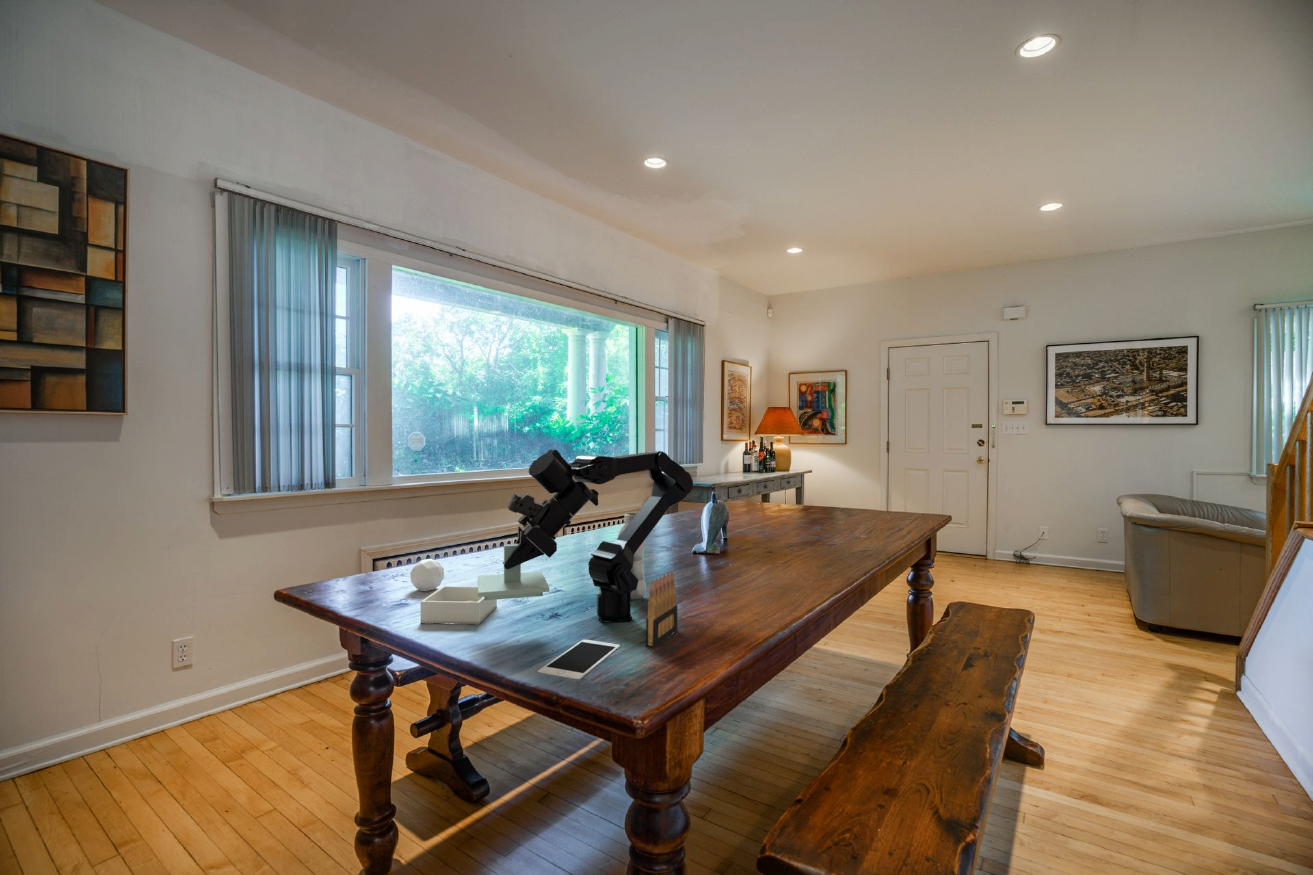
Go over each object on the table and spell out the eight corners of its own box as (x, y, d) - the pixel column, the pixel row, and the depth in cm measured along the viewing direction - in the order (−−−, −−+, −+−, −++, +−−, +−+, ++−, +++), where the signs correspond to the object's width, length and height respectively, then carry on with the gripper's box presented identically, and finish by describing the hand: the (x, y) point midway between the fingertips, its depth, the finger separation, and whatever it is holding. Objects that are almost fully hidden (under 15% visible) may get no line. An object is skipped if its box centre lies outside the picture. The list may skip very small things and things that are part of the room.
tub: (496, 607, 131) (496, 586, 131) (479, 624, 119) (479, 602, 119) (443, 606, 131) (443, 586, 131) (420, 623, 119) (420, 601, 119)
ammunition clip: (654, 648, 107) (654, 582, 107) (645, 646, 108) (645, 581, 108) (677, 630, 117) (678, 570, 116) (669, 629, 117) (669, 569, 117)
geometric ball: (435, 599, 146) (456, 572, 147) (417, 596, 139) (439, 568, 140) (416, 581, 149) (436, 555, 150) (397, 577, 141) (418, 549, 143)
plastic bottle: (642, 603, 134) (643, 516, 134) (614, 601, 136) (614, 515, 136) (648, 595, 141) (649, 512, 141) (621, 594, 142) (622, 511, 142)
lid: (541, 580, 121) (541, 537, 121) (549, 597, 109) (549, 549, 109) (477, 584, 117) (477, 540, 117) (478, 602, 105) (478, 553, 105)
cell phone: (536, 674, 96) (536, 671, 96) (583, 642, 111) (583, 638, 111) (579, 682, 93) (579, 678, 93) (621, 648, 108) (621, 644, 108)
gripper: (528, 475, 123) (473, 530, 119) (538, 482, 105) (473, 548, 102) (566, 511, 125) (513, 566, 122) (582, 524, 107) (520, 589, 104)
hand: (504, 566), depth 112 cm, fingers closed on lid
